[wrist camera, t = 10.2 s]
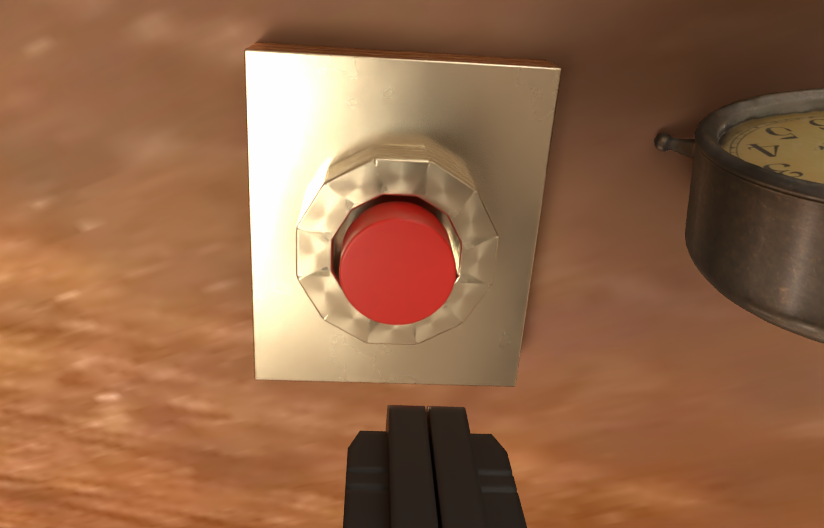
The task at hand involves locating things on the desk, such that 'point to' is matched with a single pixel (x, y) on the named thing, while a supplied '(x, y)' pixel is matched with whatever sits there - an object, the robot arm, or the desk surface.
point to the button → (397, 263)
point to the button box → (393, 181)
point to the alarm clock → (761, 206)
